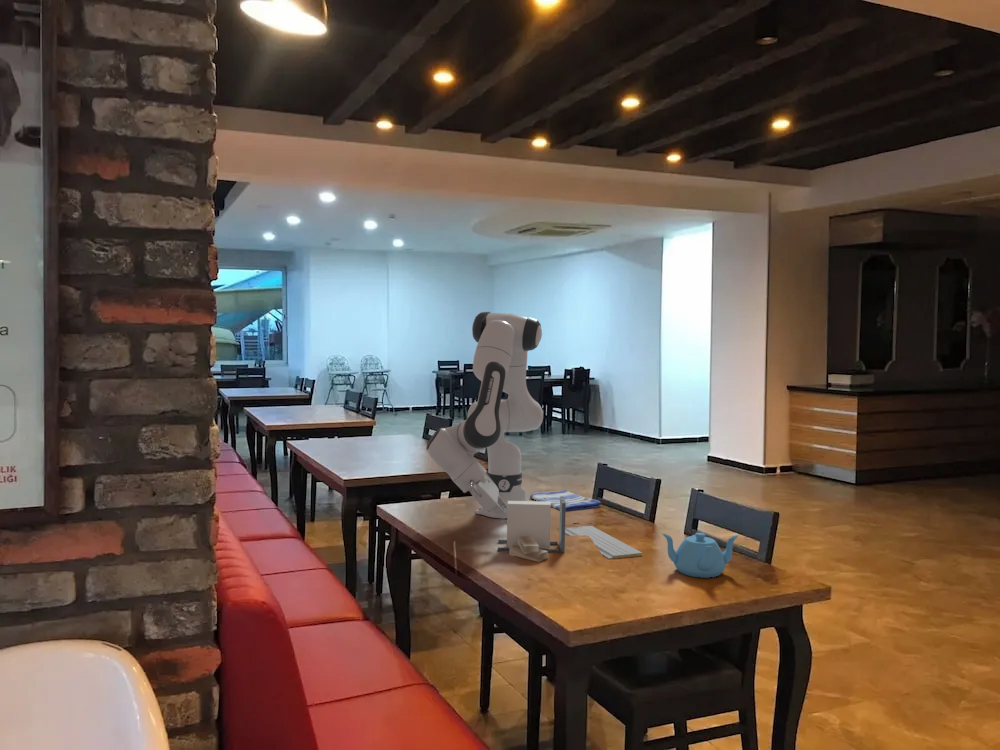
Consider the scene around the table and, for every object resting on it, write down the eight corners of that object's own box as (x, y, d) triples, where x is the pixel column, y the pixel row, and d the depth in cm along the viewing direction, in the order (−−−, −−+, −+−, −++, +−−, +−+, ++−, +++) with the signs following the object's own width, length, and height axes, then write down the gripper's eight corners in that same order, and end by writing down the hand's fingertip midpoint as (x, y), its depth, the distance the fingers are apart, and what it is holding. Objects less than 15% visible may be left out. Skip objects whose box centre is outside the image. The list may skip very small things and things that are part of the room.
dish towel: (566, 495, 296) (567, 488, 295) (603, 508, 275) (603, 500, 275) (527, 499, 287) (528, 492, 287) (562, 513, 267) (562, 505, 267)
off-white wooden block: (506, 549, 219) (507, 500, 219) (548, 550, 219) (550, 501, 218) (506, 553, 216) (507, 503, 215) (549, 554, 215) (550, 504, 214)
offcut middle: (518, 551, 213) (518, 544, 213) (547, 558, 207) (547, 551, 207) (509, 554, 210) (509, 547, 210) (539, 561, 204) (539, 554, 204)
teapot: (692, 560, 212) (693, 523, 211) (741, 573, 201) (742, 534, 200) (659, 571, 202) (660, 532, 202) (709, 585, 191) (711, 544, 190)
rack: (498, 546, 222) (499, 495, 221) (562, 548, 222) (563, 496, 221) (497, 555, 213) (498, 501, 212) (564, 556, 213) (565, 503, 212)
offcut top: (531, 543, 214) (532, 536, 214) (538, 553, 205) (538, 545, 205) (517, 543, 213) (517, 536, 213) (523, 553, 204) (524, 546, 204)
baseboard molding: (604, 562, 211) (642, 558, 215) (604, 551, 211) (642, 548, 215) (556, 533, 240) (591, 530, 244) (557, 524, 240) (591, 521, 244)
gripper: (477, 476, 206) (513, 513, 206) (481, 463, 226) (514, 497, 227) (460, 492, 206) (496, 529, 207) (465, 478, 227) (498, 512, 227)
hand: (505, 512), depth 217 cm, fingers open, 8 cm apart
